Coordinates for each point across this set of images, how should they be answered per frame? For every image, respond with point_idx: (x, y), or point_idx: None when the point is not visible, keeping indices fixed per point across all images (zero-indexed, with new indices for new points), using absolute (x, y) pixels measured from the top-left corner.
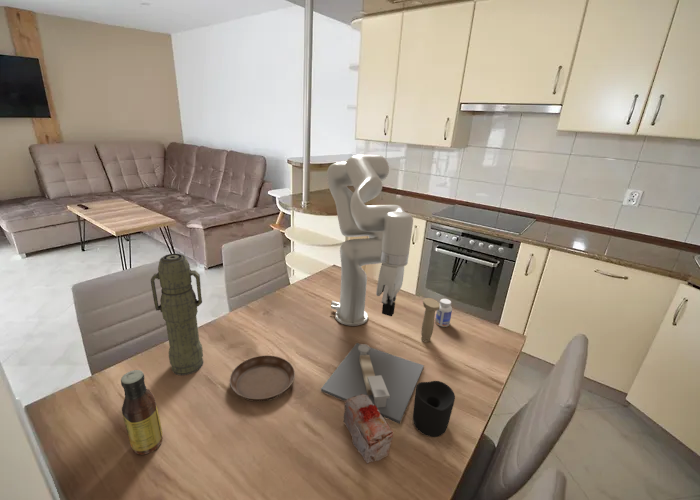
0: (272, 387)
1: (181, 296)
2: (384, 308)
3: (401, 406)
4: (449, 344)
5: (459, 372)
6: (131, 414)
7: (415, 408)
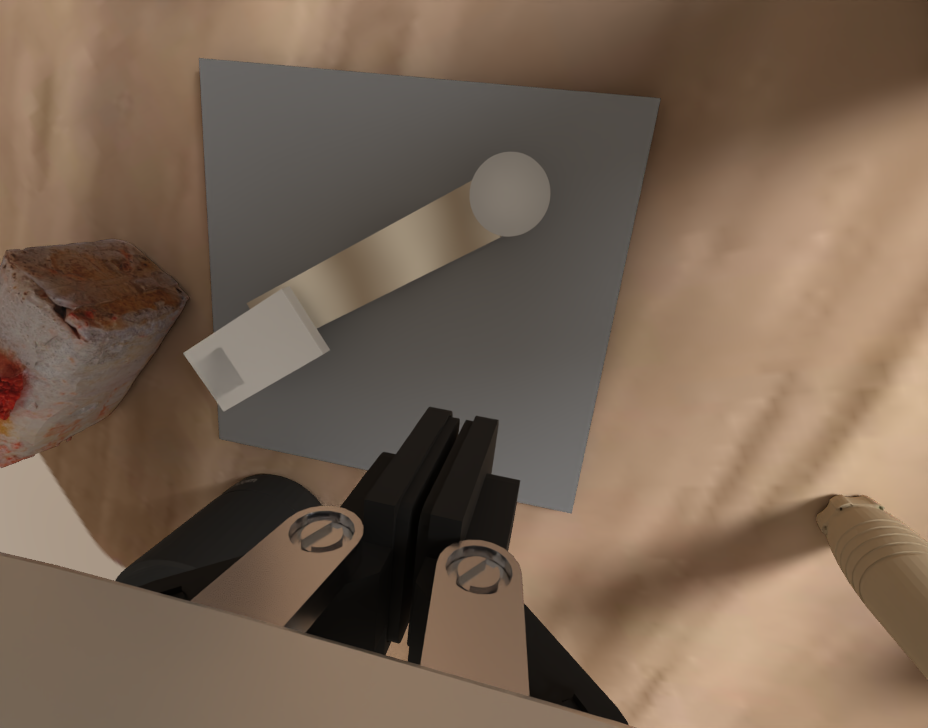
0: None
1: None
2: (360, 482)
3: (282, 437)
4: (828, 629)
5: (596, 643)
6: None
7: (190, 519)
